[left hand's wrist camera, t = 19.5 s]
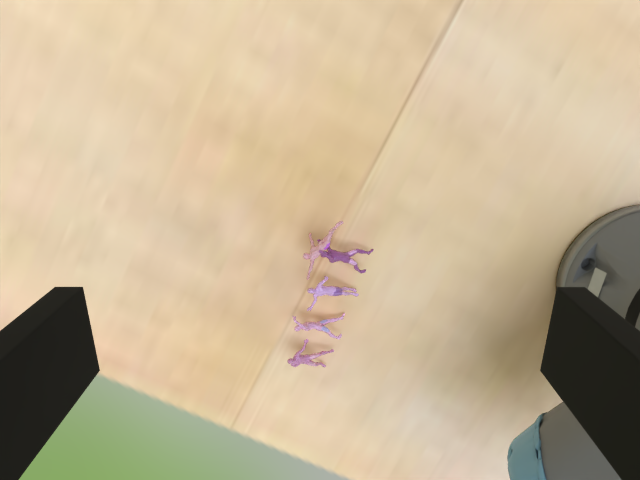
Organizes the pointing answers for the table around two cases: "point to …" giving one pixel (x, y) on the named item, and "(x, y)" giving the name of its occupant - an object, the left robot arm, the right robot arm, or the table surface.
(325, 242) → the people figure
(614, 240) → the left robot arm
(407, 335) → the table surface
